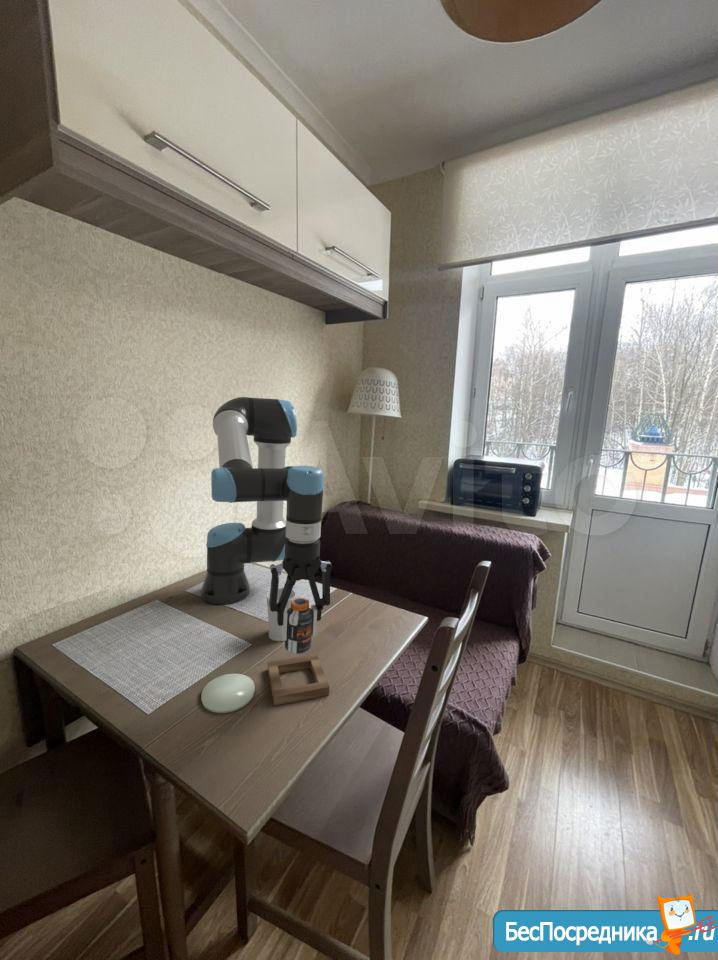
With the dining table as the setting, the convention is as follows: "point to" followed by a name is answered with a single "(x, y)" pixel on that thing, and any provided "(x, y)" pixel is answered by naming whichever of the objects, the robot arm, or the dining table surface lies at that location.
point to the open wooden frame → (297, 692)
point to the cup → (272, 616)
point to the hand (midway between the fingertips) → (298, 634)
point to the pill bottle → (299, 626)
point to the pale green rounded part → (228, 693)
